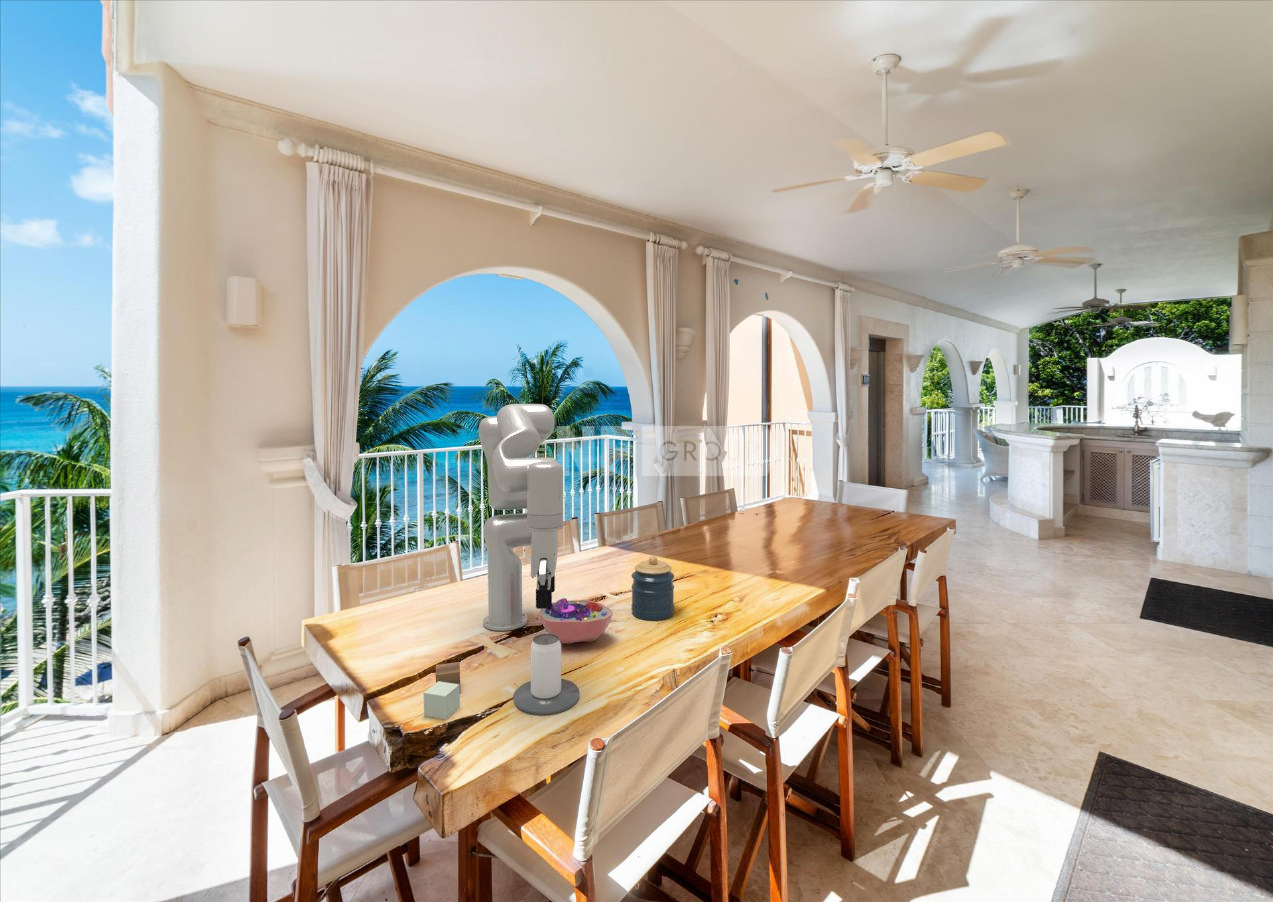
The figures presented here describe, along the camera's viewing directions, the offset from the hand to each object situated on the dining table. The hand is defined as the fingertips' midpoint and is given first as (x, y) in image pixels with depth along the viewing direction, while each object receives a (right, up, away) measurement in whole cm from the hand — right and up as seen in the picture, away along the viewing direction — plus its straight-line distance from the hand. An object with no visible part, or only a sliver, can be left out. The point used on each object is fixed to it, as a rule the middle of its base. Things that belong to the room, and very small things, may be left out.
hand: (545, 599), depth 121 cm
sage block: (-21, -22, -4) cm, 30 cm away
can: (0, -21, +2) cm, 21 cm away
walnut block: (-22, -21, +5) cm, 31 cm away
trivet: (0, -22, +2) cm, 22 cm away
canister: (+24, -18, +51) cm, 60 cm away
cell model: (+3, -19, +31) cm, 37 cm away
